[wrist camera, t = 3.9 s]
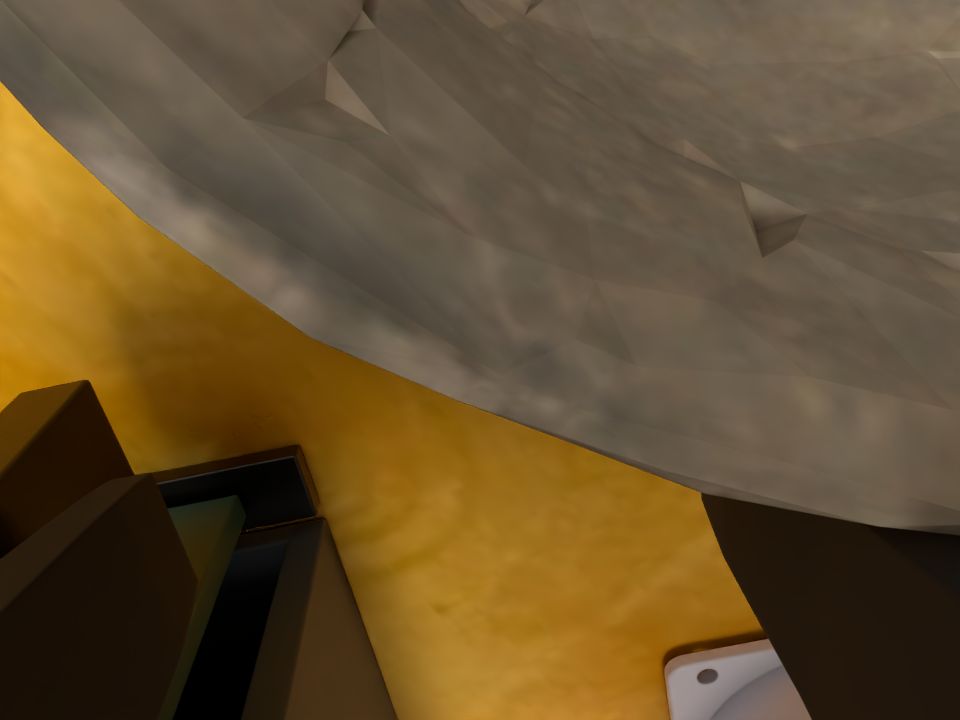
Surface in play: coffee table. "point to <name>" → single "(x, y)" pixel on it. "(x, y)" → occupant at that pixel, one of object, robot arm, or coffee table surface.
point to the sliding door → (84, 467)
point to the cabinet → (277, 604)
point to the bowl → (570, 211)
